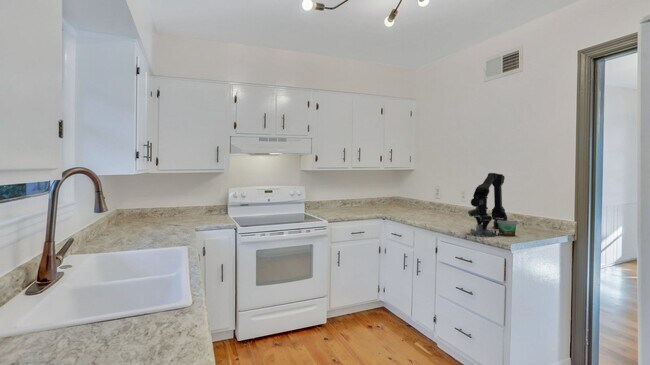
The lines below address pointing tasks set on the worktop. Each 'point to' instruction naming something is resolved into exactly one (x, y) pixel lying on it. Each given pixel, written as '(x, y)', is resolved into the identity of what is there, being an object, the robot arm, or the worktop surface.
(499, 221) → the food container
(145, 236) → the worktop surface
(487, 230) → the holder
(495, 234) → the clip
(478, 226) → the block
